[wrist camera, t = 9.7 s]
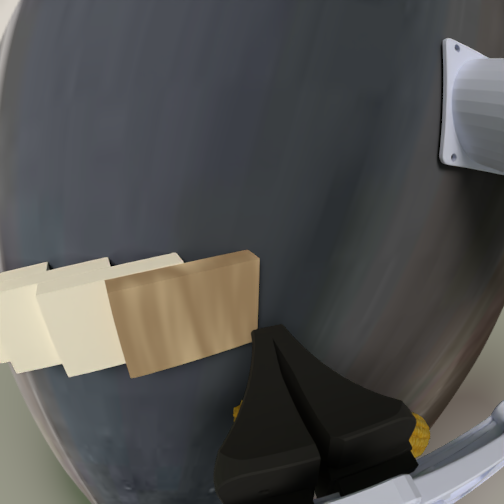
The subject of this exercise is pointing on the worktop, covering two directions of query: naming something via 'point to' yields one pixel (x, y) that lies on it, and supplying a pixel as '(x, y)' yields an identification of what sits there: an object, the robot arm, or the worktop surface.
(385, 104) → the worktop surface
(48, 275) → the domino
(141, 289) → the domino
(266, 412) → the robot arm
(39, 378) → the worktop surface
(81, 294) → the domino
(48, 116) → the worktop surface
